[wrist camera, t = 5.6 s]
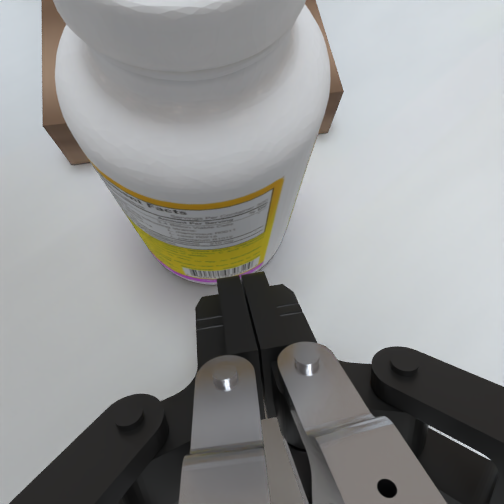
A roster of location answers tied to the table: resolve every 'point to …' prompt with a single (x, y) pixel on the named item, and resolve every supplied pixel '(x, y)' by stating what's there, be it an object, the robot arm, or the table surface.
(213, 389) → the robot arm
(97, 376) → the table surface
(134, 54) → the supplement bottle
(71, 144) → the cradle
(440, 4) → the table surface
